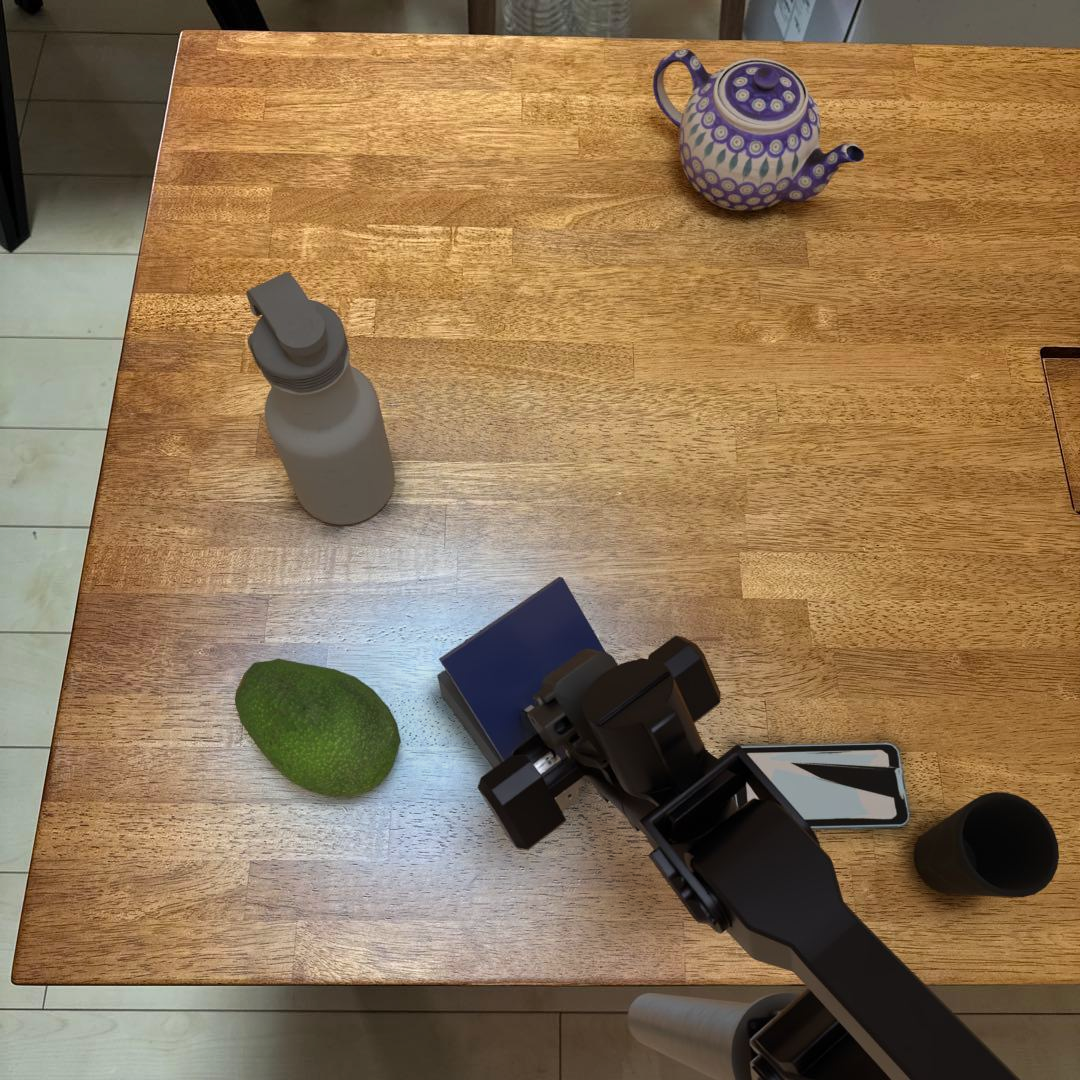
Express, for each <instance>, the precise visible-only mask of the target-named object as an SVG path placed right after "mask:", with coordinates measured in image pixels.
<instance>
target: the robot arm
mask: <svg viewBox="0 0 1080 1080" xmlns="http://www.w3.org/2000/svg"><path fill="white" fill-rule="evenodd" d="M721 693H722V692H721V691H720V688H719V685H718V684H717V681H716V679H715V676H714V674H713V672H712V669H711V667H710V664H709V663H708V660H707V657H706V655H705V653H704V651H702V649H701V648H700V647H699V645H698V644H697V643H695V642H694V641H692V640H690V639H688V638H687V637H685V636H682V635H674V636H673V637H672V638H670V639H669V640H667V641H666V642H664V643H663V644H662V645H660V646H659V647H658V648H656V649H654V651H652V652H651V653H649V654H648V656H647V658H643V657H640V658H637V659H633V660H628V661H624V662H622V663H619V664H618V663H617V661H616V659H615V657H614V656H612V654H610V653H609V652H607V651H605V652H601V651H596V650H592V649H584V650H582V651H580V652H578V653H577V654H576V655H575V656H574V657H573V658H571V659H570V660H568V661H567V662H566V663H564V664H563V665H561V666H560V667H559V668H557V669H556V670H554V671H552V672H550V673H549V674H548V675H546V676H545V678H544V679H543V681H542V683H541V690H540V691H538V692H537V693H536V694H534V695H533V696H532V697H533V699H534V701H535V703H536V705H535V707H534V708H533V709H531V710H530V711H529V712H528V713H527V712H525V711H522V712H520V717H521V721H522V725H523V729H524V733H525V742H523V743H522V744H521V745H519V746H518V747H516V748H515V749H514V751H513V753H512V756H510V757H508V758H507V759H506V760H504V761H503V762H502V763H500V764H499V765H497V766H496V767H495V768H493V767H492V769H490V770H489V771H488V772H486V773H484V775H482V776H481V777H480V779H479V782H478V785H477V790H478V791H479V793H480V795H481V796H482V798H483V800H484V802H485V803H486V804H487V806H488V808H489V810H490V811H491V813H492V814H493V816H494V818H495V819H496V821H497V823H498V824H499V826H500V827H501V829H502V831H503V833H504V834H505V836H506V837H507V839H508V840H509V841H510V843H511V844H512V845H513V846H514V847H515V849H517V850H522V851H525V852H526V851H529V850H531V849H533V847H536V845H538V844H539V843H540V842H542V840H544V839H545V838H547V837H548V836H549V835H550V834H552V833H554V832H555V831H556V830H558V828H560V827H561V826H562V825H564V824H565V823H566V822H567V818H566V816H565V815H564V813H563V811H564V810H566V809H567V808H568V807H570V806H571V805H572V804H574V803H575V802H576V801H577V800H578V798H579V791H580V790H581V788H582V787H584V786H585V785H587V784H588V783H589V784H591V786H592V787H594V788H595V789H596V791H597V794H598V795H599V797H600V798H602V800H604V801H605V802H606V803H610V804H612V806H614V807H615V808H616V809H617V810H618V811H619V812H620V813H621V814H622V815H623V816H624V817H625V818H626V820H627V822H628V823H629V825H630V826H631V827H632V829H634V830H635V831H636V832H637V833H639V832H641V833H642V834H643V836H645V838H646V840H647V842H648V843H649V845H650V847H651V848H652V849H653V850H652V851H651V852H649V853H648V854H647V857H648V858H649V860H650V861H651V862H652V864H653V865H654V867H655V868H656V870H657V871H658V872H659V874H660V875H661V876H662V877H663V879H664V880H665V882H666V883H667V884H668V886H669V887H670V889H671V890H672V891H673V892H674V893H675V895H676V896H677V898H678V899H679V901H680V902H681V903H682V905H683V907H684V908H685V909H686V910H687V911H688V913H689V914H690V915H691V917H692V918H693V919H694V920H695V922H697V924H702V925H707V926H709V927H710V928H711V929H712V930H713V931H714V932H716V933H717V934H719V935H721V934H723V933H725V932H726V933H727V934H728V935H729V936H730V937H731V938H732V939H733V941H735V942H736V943H737V944H738V945H739V947H741V948H742V949H743V950H744V951H745V953H746V954H747V955H748V956H749V957H750V958H752V959H753V960H755V961H757V962H760V963H762V964H763V963H764V964H767V965H769V966H772V967H777V968H780V969H782V970H786V971H789V972H792V973H793V974H795V976H796V977H797V978H798V979H799V980H800V981H801V982H802V983H803V984H804V985H805V986H806V987H807V988H806V989H804V990H803V992H801V993H799V996H798V997H797V998H796V999H795V1000H794V1001H792V1002H791V1003H790V1004H789V1005H788V1006H787V1007H786V1008H785V1009H779V1010H771V1012H770V1013H769V1014H770V1016H769V1017H759V1018H751V1019H749V1020H748V1021H747V1025H746V1026H747V1033H748V1039H749V1046H750V1053H751V1060H752V1061H751V1062H750V1067H751V1076H752V1080H1021V1079H1020V1078H1019V1077H1018V1075H1016V1074H1015V1072H1014V1071H1012V1070H1011V1069H1010V1067H1008V1066H1007V1064H1005V1063H1004V1062H1003V1061H1002V1060H1001V1059H1000V1057H998V1055H997V1054H995V1052H993V1051H992V1050H991V1049H990V1047H988V1045H986V1044H985V1043H984V1042H983V1041H982V1039H980V1038H979V1037H978V1036H977V1035H976V1034H975V1032H973V1030H972V1029H970V1027H968V1026H967V1025H966V1024H965V1023H964V1021H962V1019H960V1017H959V1016H957V1015H956V1014H955V1013H954V1011H952V1010H951V1009H950V1008H949V1006H948V1005H946V1003H944V1002H943V1001H942V1000H941V999H940V997H938V996H937V994H935V993H934V992H933V991H932V990H931V988H929V986H927V985H926V984H925V983H924V982H923V980H921V979H920V978H919V976H918V975H917V974H915V973H914V971H913V970H911V969H910V967H908V965H906V964H905V963H904V962H903V961H902V960H901V958H899V956H898V955H897V954H895V953H894V952H893V951H892V950H891V948H889V946H887V945H886V944H885V942H884V941H882V940H881V938H879V936H878V935H876V933H875V932H873V931H872V929H871V928H870V927H869V926H867V925H866V924H865V923H864V921H862V920H861V918H859V916H858V915H857V914H856V913H855V912H854V911H853V910H852V909H851V907H850V906H848V904H847V903H846V902H845V901H844V899H843V898H844V897H843V894H842V891H841V886H840V883H839V879H838V877H837V873H836V869H835V866H834V865H835V864H834V862H833V859H832V857H831V856H830V855H829V854H828V853H827V852H826V851H825V849H824V848H823V847H822V846H821V842H820V841H819V838H818V836H817V834H816V833H815V830H812V828H811V827H810V826H809V824H808V823H807V822H806V821H805V819H804V818H803V817H802V816H801V815H800V814H799V812H798V811H797V810H796V809H795V808H794V807H793V806H792V804H791V803H790V802H789V801H788V800H787V799H786V798H785V796H784V795H783V794H782V793H781V792H780V791H779V790H778V788H777V787H776V786H775V785H774V784H773V783H772V782H771V780H770V779H769V778H768V777H767V776H766V775H765V774H764V772H763V771H762V770H761V769H760V768H759V767H758V766H757V765H756V763H755V762H754V761H753V760H752V759H751V758H750V757H749V755H748V754H747V753H746V752H745V751H744V750H743V749H742V747H741V746H742V745H739V744H738V743H736V744H735V745H734V746H732V748H730V749H729V750H728V751H726V752H725V753H723V754H722V755H720V757H718V758H717V757H716V756H715V755H713V754H712V753H710V752H709V750H707V748H706V747H705V744H704V742H703V740H702V737H701V734H700V733H699V730H698V729H697V727H696V723H698V721H700V720H701V719H702V718H704V717H706V715H708V714H709V713H711V711H713V710H714V709H716V708H717V707H718V706H719V705H720V704H721V698H722V697H721ZM562 745H563V746H564V752H565V754H566V756H567V757H566V758H564V759H563V760H562V759H561V758H560V757H559V756H558V755H556V753H555V751H554V750H556V749H558V748H559V747H560V746H562ZM747 783H748V785H749V786H750V788H751V789H752V790H753V792H754V793H755V795H756V796H757V797H758V799H756V798H753V799H751V800H750V801H748V802H747V803H746V804H745V805H743V806H742V807H741V808H740V809H738V807H737V804H736V799H735V796H734V795H735V794H737V793H738V792H739V791H740V790H742V789H743V788H744V787H745V786H746V784H747ZM751 1022H755V1024H756V1027H755V1028H751V1026H750V1025H751Z"/></svg>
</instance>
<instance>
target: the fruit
mask: <svg viewBox="0 0 1080 1080" xmlns="http://www.w3.org/2000/svg"><path fill="white" fill-rule="evenodd" d="M234 704H235V708H236V712H237V715H238V718H239V720H240V724H241V725H242V726H243V728H244V729H245V731H246V732H247V734H248V735H249V737H250V738H251V739H252V741H253V742H254V744H255V746H257V749H259V751H260V752H261V753H262V754H263V756H264V757H265V758H266V759H267V760H268V762H269V763H270V764H271V765H272V766H273V767H274V769H275V770H276V771H278V772H279V773H280V774H281V775H282V776H284V777H285V778H286V779H287V780H289V781H290V782H291V783H292V784H295V785H297V786H298V787H300V788H302V789H305V790H307V791H309V792H311V793H315V794H319V795H322V796H327V797H331V798H354V797H358V796H361V795H364V794H366V793H368V792H369V791H372V790H373V789H375V788H377V787H379V786H380V785H381V784H382V783H383V782H384V780H385V779H387V777H388V776H389V774H390V772H391V771H392V769H393V767H394V766H395V763H396V758H397V755H398V752H399V748H400V746H401V741H402V740H401V735H400V732H399V731H400V730H399V727H398V723H397V721H396V718H395V717H394V715H393V713H392V711H391V709H390V707H389V705H387V704H386V703H385V701H384V700H383V699H382V698H381V697H380V696H379V694H377V693H376V691H375V690H374V689H373V688H372V687H370V686H369V685H368V684H366V683H364V682H363V681H362V680H361V679H359V678H358V677H356V676H355V675H352V674H350V673H349V674H348V673H346V672H343V671H342V670H341V671H340V670H338V669H336V668H335V669H334V668H330V667H325V666H319V665H315V664H308V663H302V662H298V661H292V660H287V659H283V658H276V659H271V660H262V661H256V662H253V663H252V664H251V665H250V666H249V668H247V670H246V671H245V672H244V673H243V675H242V677H241V679H240V682H239V683H238V686H237V688H236V690H235V695H234Z"/></svg>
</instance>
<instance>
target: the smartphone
mask: <svg viewBox="0 0 1080 1080" xmlns="http://www.w3.org/2000/svg"><path fill="white" fill-rule="evenodd" d="M740 746H741V747H742V749H743V750H744V751H745V752H746V753H747V754H748V755H749V757H750V758H751V759H752V760H753V761H754V762H755V763H756V765H757V766H758V767H759V768H760V769H761V770H762V771H763V772H764V774H765V775H766V776H767V777H768V778H769V779H770V780H771V782H772V783H773V784H774V785H775V786H776V787H777V788H778V790H779V791H780V792H781V793H782V794H783V795H784V796H785V798H786V799H787V800H788V801H789V802H790V803H791V804H792V806H793V807H794V808H795V809H796V810H797V811H798V812H799V814H800V815H801V816H802V817H803V818H804V819H805V821H806V822H807V823H808V824H809V826H810V827H811V828H812V830H813V831H816V830H818V831H819V830H865V829H898V828H902V827H904V826H906V825H907V824H908V823H909V821H910V820H911V819H910V818H911V813H910V807H909V800H908V794H907V789H906V783H905V776H904V771H903V770H904V769H903V764H902V758H901V753H900V750H899V748H898V747H897V746H896V745H895V744H894V743H891V742H886V741H885V742H883V741H882V742H843V743H842V742H841V743H838V742H837V743H799V744H798V743H796V744H795V743H793V744H752V745H748V744H747V745H740ZM734 796H735V799H736V804H737V807H738V809H740V808H741V807H742V806H743V805H745V804H746V803H747V802H748V801H750V800H751V799H753V798H756V799H758V797H757V796H756V795H755V793H754V792H753V790H752V789H751V788H750V786H749V785H748V783H747V784H746V786H745V787H744V788H743V789H742V790H740V791H739V792H738V793H737V794H735V795H734Z"/></svg>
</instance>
